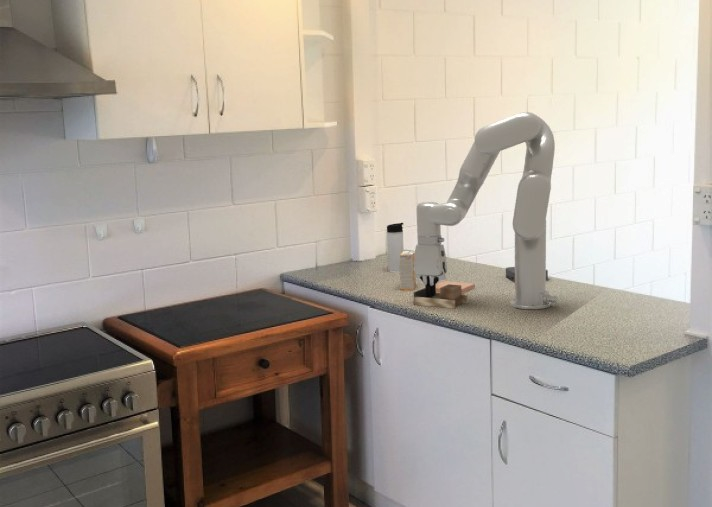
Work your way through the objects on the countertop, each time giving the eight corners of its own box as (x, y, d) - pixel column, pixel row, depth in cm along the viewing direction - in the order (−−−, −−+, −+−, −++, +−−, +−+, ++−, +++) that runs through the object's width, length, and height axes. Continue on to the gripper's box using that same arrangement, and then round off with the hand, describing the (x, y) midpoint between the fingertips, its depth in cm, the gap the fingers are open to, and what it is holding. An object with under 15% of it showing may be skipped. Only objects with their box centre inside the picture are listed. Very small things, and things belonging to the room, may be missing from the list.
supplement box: (413, 291, 280) (412, 254, 278) (400, 291, 281) (398, 254, 279) (416, 286, 288) (415, 250, 286) (403, 286, 289) (402, 250, 287)
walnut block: (461, 303, 258) (461, 285, 257) (453, 307, 253) (452, 288, 252) (449, 302, 260) (448, 284, 259) (440, 306, 255) (440, 287, 254)
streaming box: (550, 283, 284) (550, 271, 283) (515, 286, 282) (515, 273, 282) (537, 277, 296) (537, 265, 296) (503, 279, 295) (503, 267, 294)
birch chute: (467, 302, 258) (467, 290, 258) (454, 308, 251) (454, 296, 250) (427, 298, 266) (427, 287, 266) (413, 304, 259) (413, 292, 258)
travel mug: (405, 275, 310) (403, 223, 307) (388, 275, 310) (386, 224, 307) (404, 272, 316) (403, 221, 313) (388, 272, 317) (386, 222, 313)
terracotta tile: (474, 289, 278) (474, 283, 278) (459, 296, 269) (459, 290, 268) (444, 286, 285) (444, 281, 285) (427, 293, 275) (427, 287, 275)
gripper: (455, 240, 256) (456, 296, 259) (414, 238, 265) (416, 292, 268) (444, 243, 250) (445, 300, 253) (403, 241, 259) (405, 296, 261)
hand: (430, 296), depth 260 cm, fingers closed
